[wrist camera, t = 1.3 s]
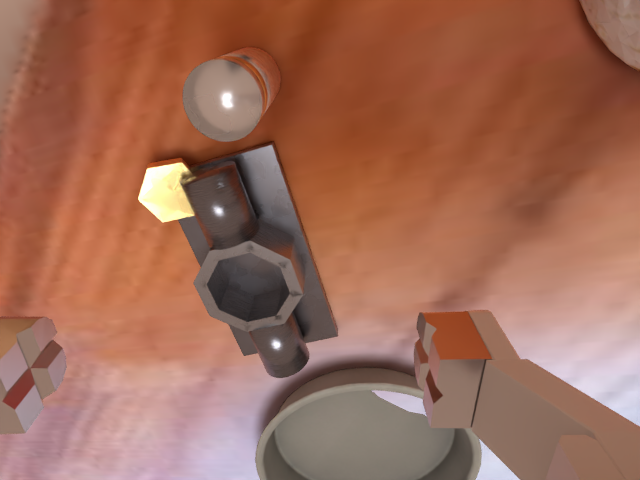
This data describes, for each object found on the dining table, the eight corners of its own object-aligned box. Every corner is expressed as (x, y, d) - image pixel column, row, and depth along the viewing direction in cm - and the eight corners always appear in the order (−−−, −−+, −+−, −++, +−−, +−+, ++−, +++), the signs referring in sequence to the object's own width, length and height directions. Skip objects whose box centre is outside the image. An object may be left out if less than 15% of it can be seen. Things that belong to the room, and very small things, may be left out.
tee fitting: (273, 141, 35) (264, 161, 30) (337, 329, 44) (338, 368, 39) (161, 173, 37) (136, 197, 32) (245, 349, 45) (235, 388, 41)
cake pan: (458, 496, 56) (467, 533, 52) (270, 496, 57) (266, 532, 53) (484, 352, 45) (499, 384, 41) (250, 354, 46) (242, 387, 42)
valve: (269, 39, 32) (245, 48, 23) (288, 99, 34) (272, 129, 25) (214, 57, 32) (169, 73, 23) (235, 115, 34) (201, 150, 25)
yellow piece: (169, 145, 35) (169, 149, 33) (213, 191, 37) (215, 197, 35) (127, 181, 34) (125, 187, 33) (173, 225, 37) (174, 233, 35)
